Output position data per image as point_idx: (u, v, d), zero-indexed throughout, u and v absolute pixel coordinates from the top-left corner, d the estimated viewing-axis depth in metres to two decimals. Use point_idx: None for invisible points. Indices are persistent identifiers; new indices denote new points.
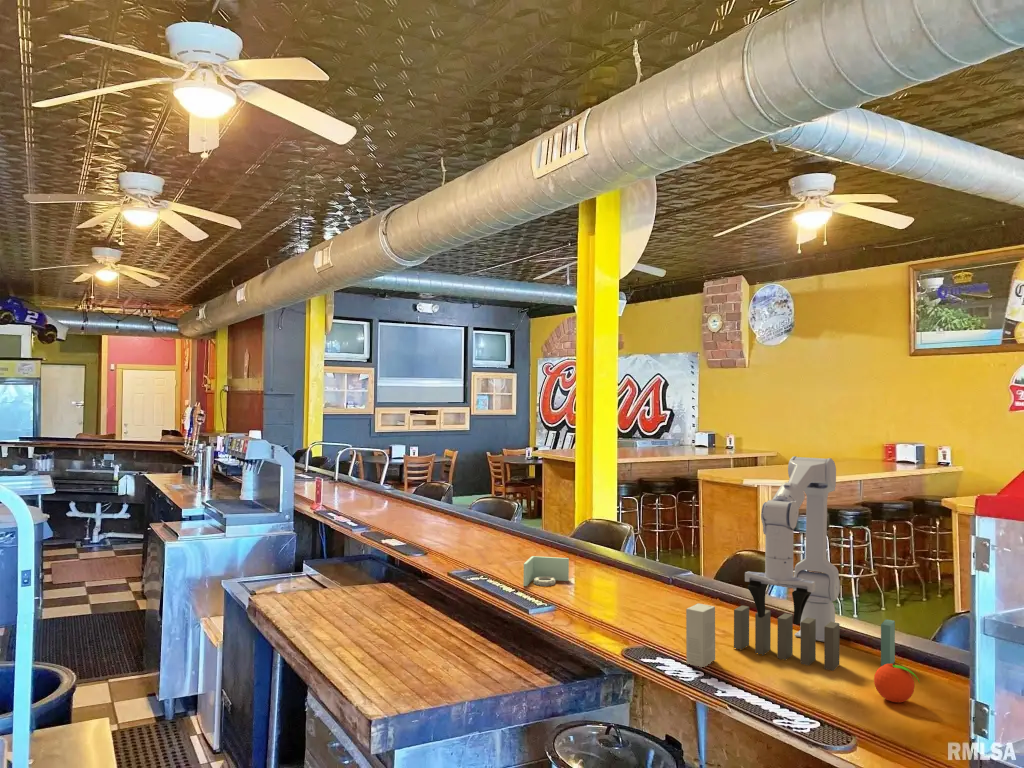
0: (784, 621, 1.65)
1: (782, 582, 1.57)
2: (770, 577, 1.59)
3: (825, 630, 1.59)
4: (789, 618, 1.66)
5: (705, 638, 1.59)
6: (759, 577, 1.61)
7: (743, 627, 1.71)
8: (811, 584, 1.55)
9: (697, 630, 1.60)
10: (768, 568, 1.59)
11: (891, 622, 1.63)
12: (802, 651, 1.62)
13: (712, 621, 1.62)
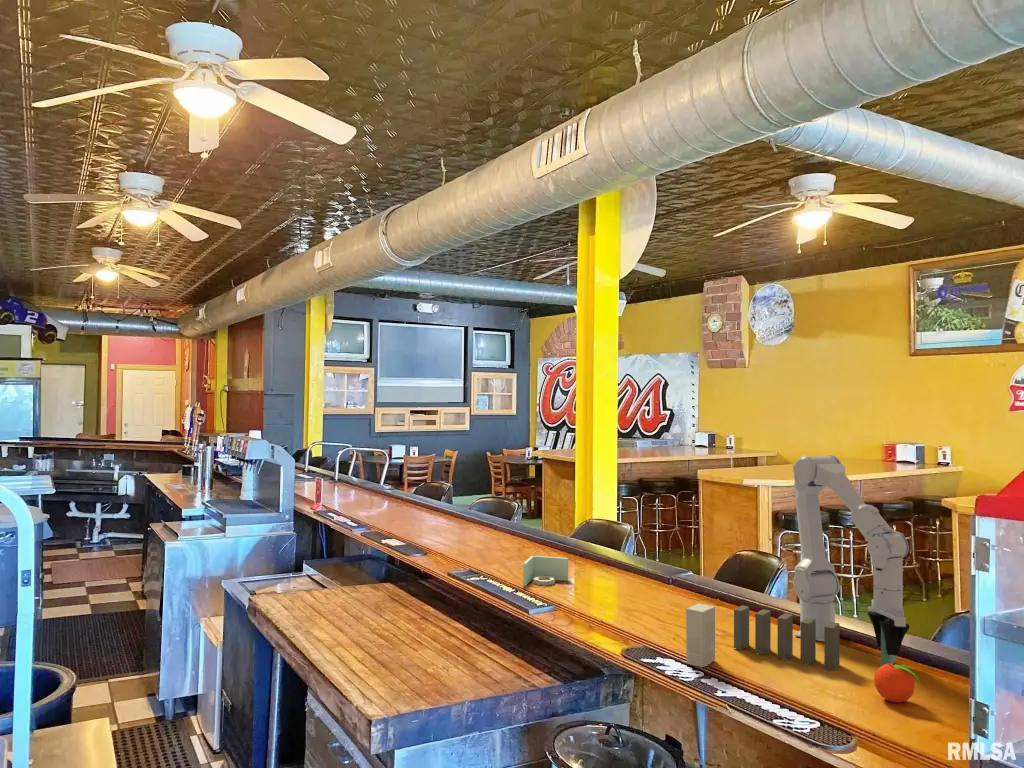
0: (784, 621, 1.65)
1: (877, 611, 1.62)
2: (873, 605, 1.64)
3: (825, 630, 1.59)
4: (789, 618, 1.66)
5: (705, 638, 1.59)
6: (872, 604, 1.67)
7: (743, 627, 1.71)
8: (895, 618, 1.56)
9: (697, 630, 1.60)
10: None
11: None
12: (802, 651, 1.62)
13: (712, 621, 1.62)
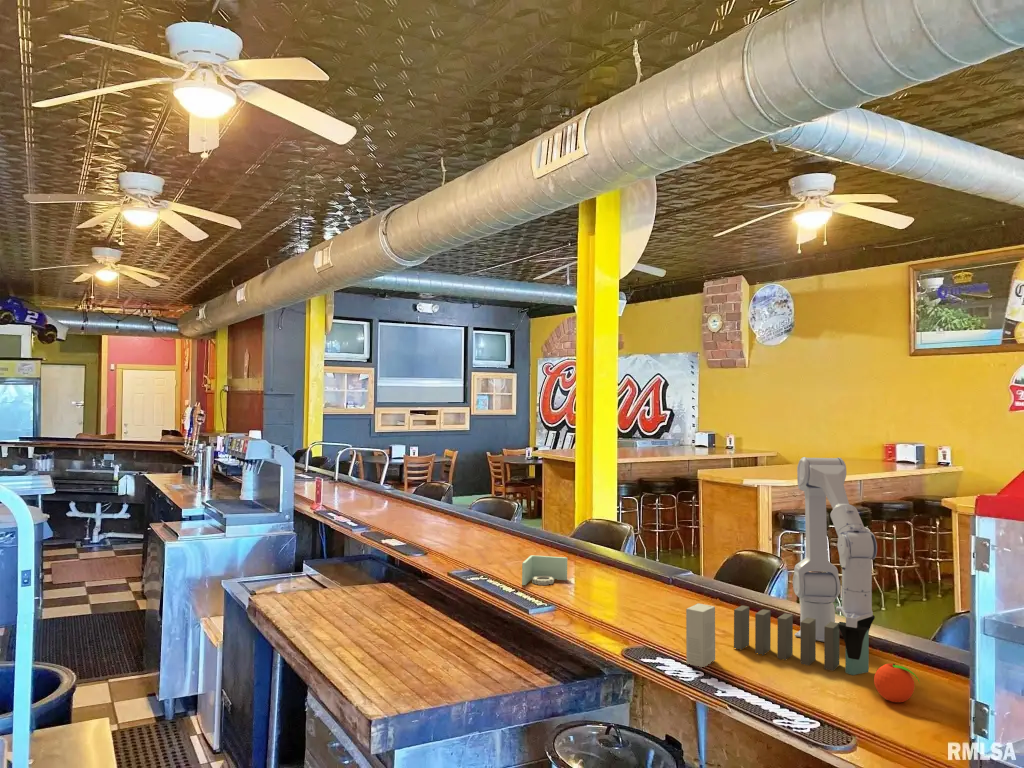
0: (784, 621, 1.65)
1: (842, 611, 1.58)
2: None
3: (825, 630, 1.59)
4: (789, 618, 1.66)
5: (705, 638, 1.59)
6: None
7: (743, 627, 1.71)
8: (846, 618, 1.52)
9: (697, 630, 1.60)
10: None
11: None
12: (802, 651, 1.62)
13: (712, 621, 1.62)
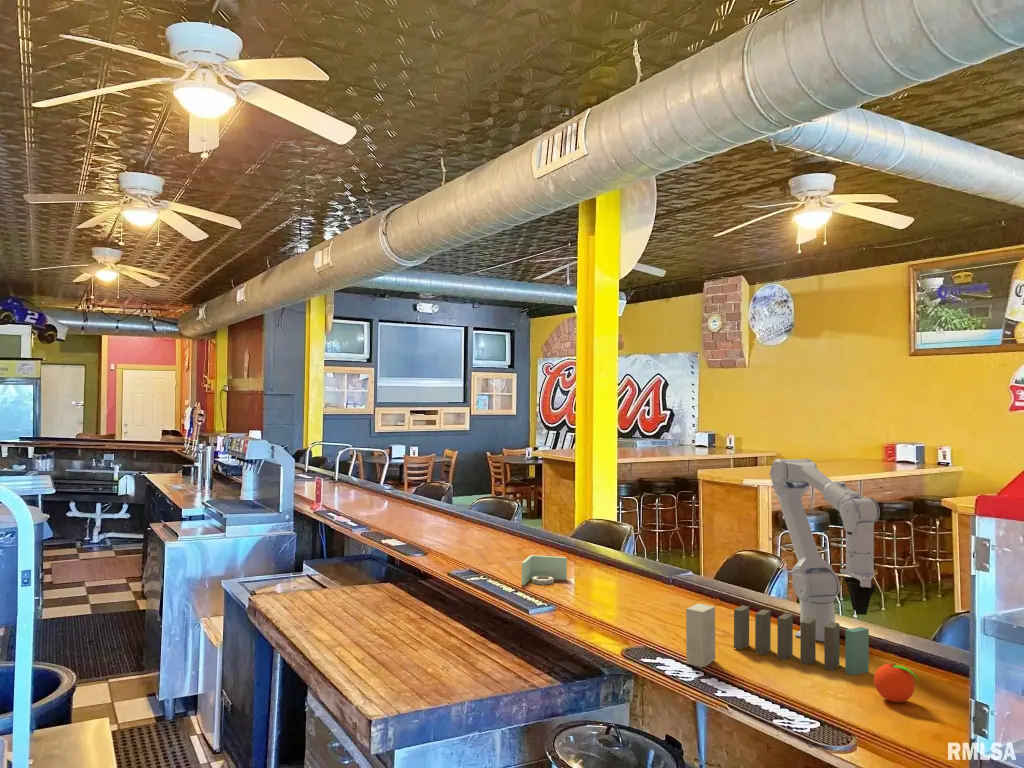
0: (784, 621, 1.65)
1: (848, 573, 1.67)
2: (846, 568, 1.69)
3: (825, 630, 1.59)
4: (789, 618, 1.66)
5: (705, 638, 1.59)
6: None
7: (743, 627, 1.71)
8: (861, 579, 1.61)
9: (697, 630, 1.60)
10: None
11: (861, 629, 1.57)
12: (802, 651, 1.62)
13: (712, 621, 1.62)
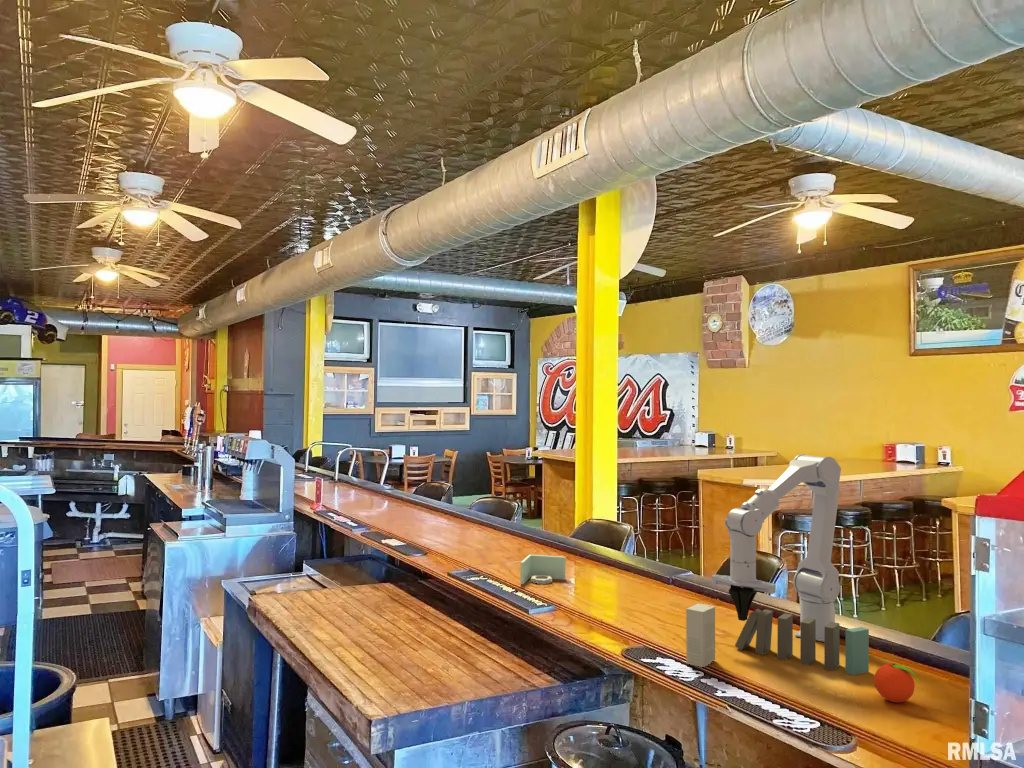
0: (784, 621, 1.65)
1: (745, 584, 1.70)
2: (734, 580, 1.71)
3: (825, 630, 1.59)
4: (789, 618, 1.66)
5: (705, 638, 1.59)
6: (724, 580, 1.74)
7: (752, 631, 1.70)
8: (771, 586, 1.68)
9: (697, 630, 1.60)
10: (733, 571, 1.72)
11: (861, 629, 1.57)
12: (802, 651, 1.62)
13: (712, 621, 1.62)
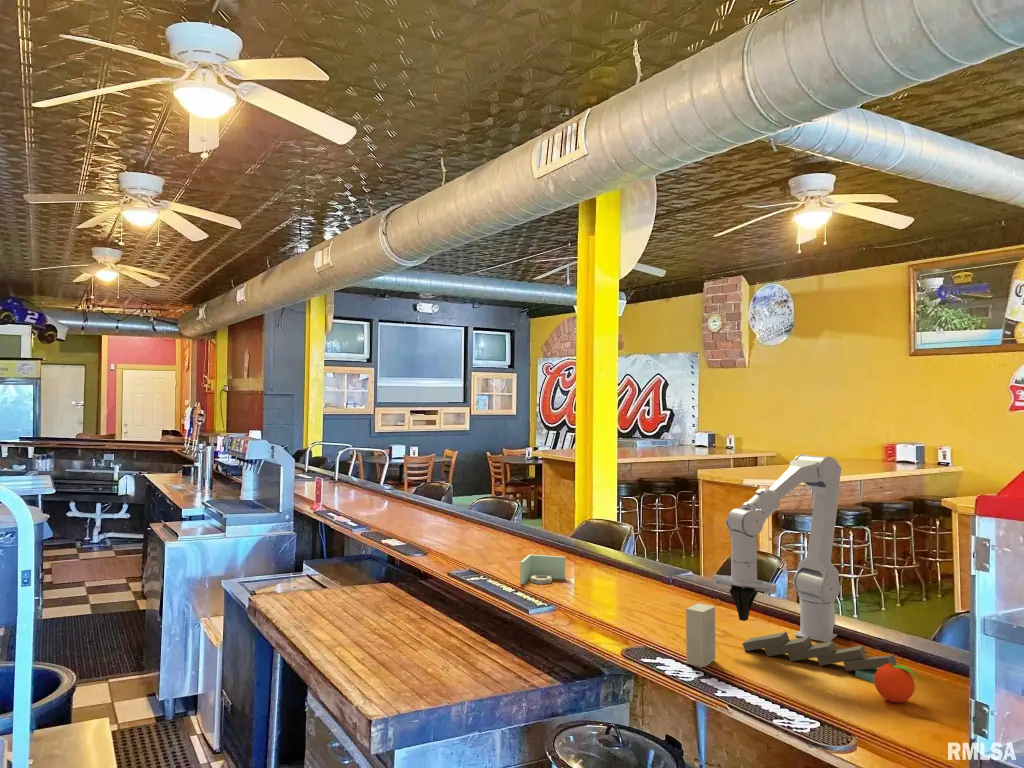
0: (828, 653, 1.59)
1: (746, 584, 1.70)
2: (735, 580, 1.71)
3: (883, 659, 1.52)
4: None
5: (705, 638, 1.59)
6: (725, 580, 1.74)
7: None
8: (772, 586, 1.68)
9: (697, 630, 1.60)
10: (734, 571, 1.72)
11: None
12: (830, 656, 1.59)
13: (712, 621, 1.62)
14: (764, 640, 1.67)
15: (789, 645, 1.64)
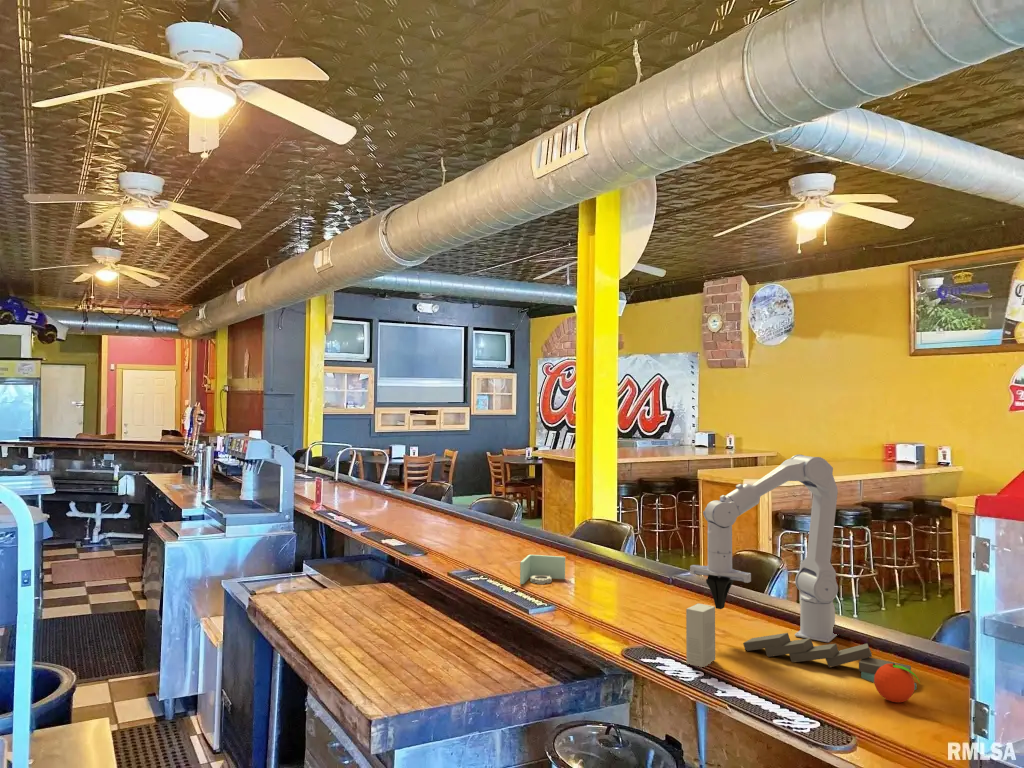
0: (830, 656, 1.58)
1: (722, 574, 1.76)
2: (711, 570, 1.77)
3: None
4: None
5: (705, 638, 1.59)
6: (702, 570, 1.80)
7: None
8: (747, 575, 1.74)
9: (697, 630, 1.60)
10: (710, 561, 1.78)
11: None
12: (839, 657, 1.58)
13: (712, 621, 1.62)
14: (764, 640, 1.67)
15: (789, 646, 1.63)
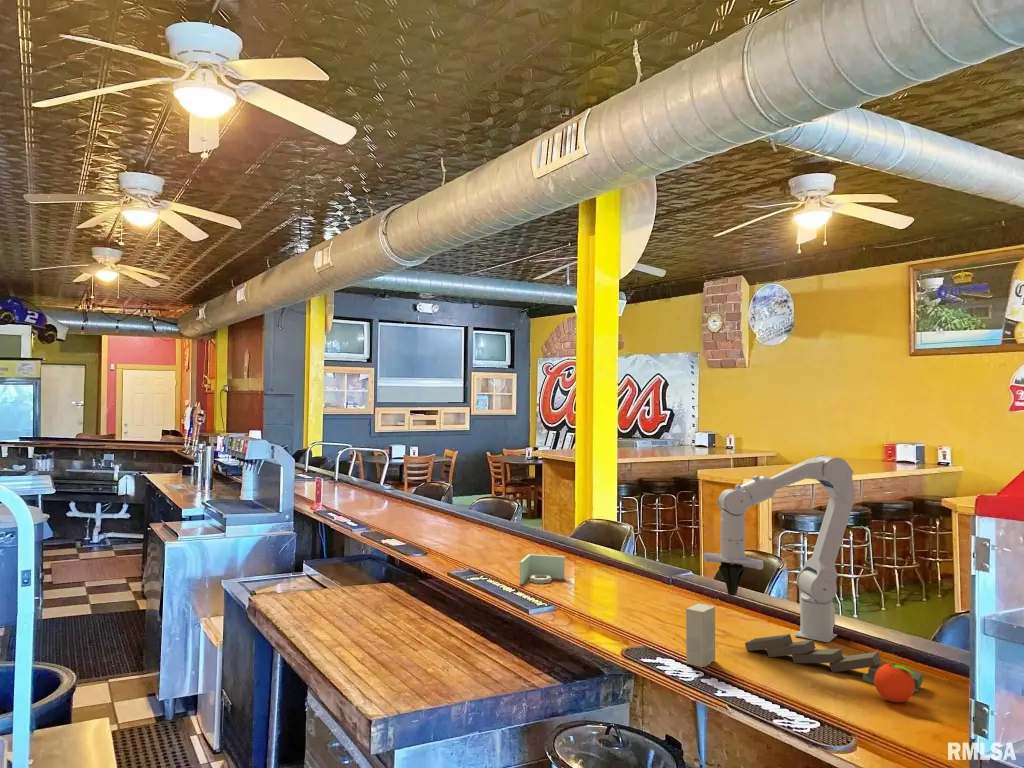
0: (831, 661, 1.57)
1: (734, 561, 1.79)
2: (724, 557, 1.80)
3: None
4: None
5: (705, 638, 1.59)
6: (715, 557, 1.83)
7: None
8: (759, 562, 1.77)
9: (697, 630, 1.60)
10: (723, 548, 1.81)
11: None
12: (842, 663, 1.56)
13: (712, 621, 1.62)
14: (766, 641, 1.67)
15: (790, 647, 1.63)
